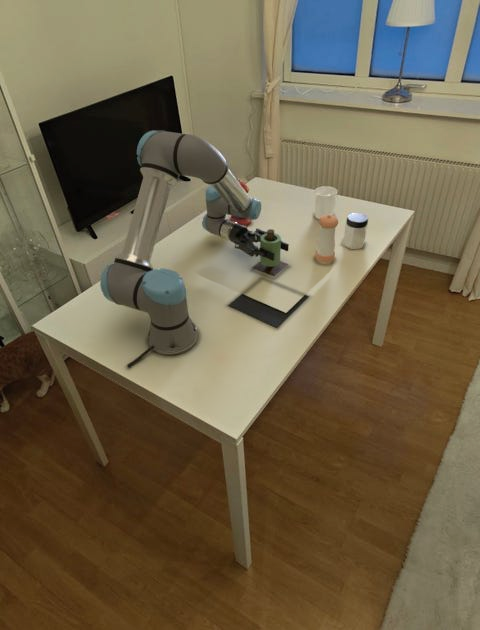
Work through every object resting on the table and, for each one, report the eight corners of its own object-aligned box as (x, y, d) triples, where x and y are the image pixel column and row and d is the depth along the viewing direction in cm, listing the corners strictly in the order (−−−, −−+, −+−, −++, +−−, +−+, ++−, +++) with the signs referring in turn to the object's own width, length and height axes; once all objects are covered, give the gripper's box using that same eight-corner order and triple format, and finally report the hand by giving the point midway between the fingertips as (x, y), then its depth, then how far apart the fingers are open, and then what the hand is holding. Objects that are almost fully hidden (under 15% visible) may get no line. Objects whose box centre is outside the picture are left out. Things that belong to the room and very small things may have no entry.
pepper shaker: (325, 267, 165) (330, 221, 152) (311, 259, 169) (314, 214, 157) (337, 260, 168) (343, 215, 156) (323, 252, 173) (328, 208, 160)
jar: (361, 251, 172) (366, 224, 165) (341, 247, 175) (344, 220, 167) (365, 240, 179) (370, 214, 171) (346, 237, 181) (349, 210, 174)
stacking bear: (249, 226, 191) (249, 188, 180) (227, 224, 193) (225, 186, 181) (254, 215, 199) (253, 177, 188) (232, 213, 201) (230, 176, 190)
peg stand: (273, 279, 160) (274, 240, 150) (251, 270, 165) (251, 232, 154) (288, 266, 166) (290, 229, 155) (266, 258, 171) (267, 221, 160)
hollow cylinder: (272, 268, 159) (273, 245, 153) (256, 262, 163) (256, 239, 156) (283, 259, 164) (284, 236, 157) (267, 254, 167) (268, 231, 161)
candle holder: (309, 212, 199) (311, 188, 191) (328, 209, 201) (331, 184, 193) (318, 222, 192) (320, 197, 184) (338, 218, 194) (341, 193, 186)
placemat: (276, 328, 139) (276, 327, 139) (228, 305, 149) (228, 304, 149) (308, 296, 151) (308, 296, 151) (261, 278, 161) (261, 277, 160)
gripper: (252, 231, 177) (297, 249, 165) (217, 251, 166) (262, 273, 154) (251, 214, 172) (298, 232, 160) (215, 234, 161) (262, 255, 149)
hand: (280, 252), depth 157 cm, fingers closed on hollow cylinder, 7 cm apart
